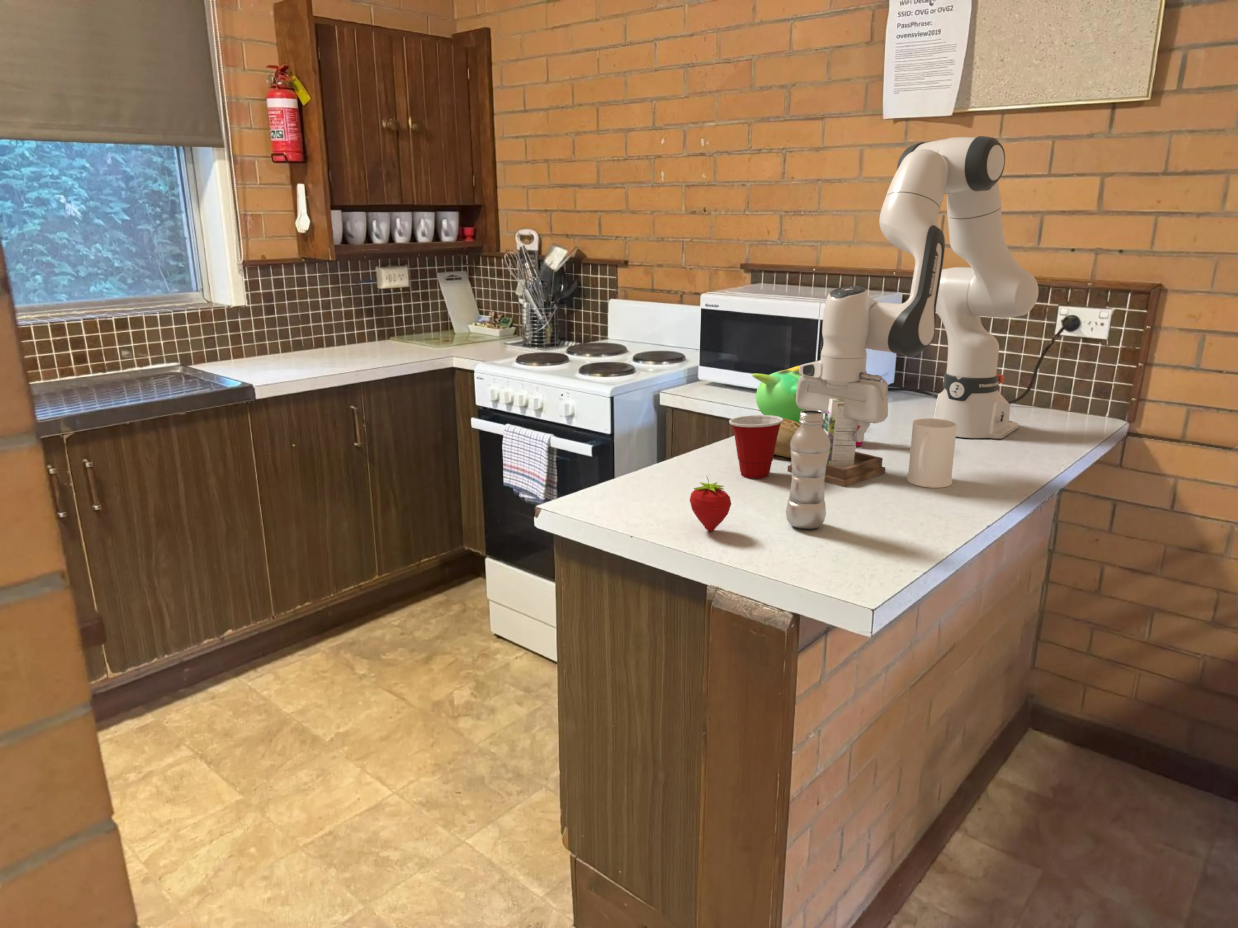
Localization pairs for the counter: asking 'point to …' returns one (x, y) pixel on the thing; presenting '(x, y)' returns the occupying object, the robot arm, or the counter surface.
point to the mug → (932, 453)
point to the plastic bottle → (808, 472)
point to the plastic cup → (755, 443)
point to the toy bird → (779, 394)
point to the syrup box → (840, 435)
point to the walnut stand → (853, 470)
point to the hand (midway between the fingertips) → (838, 436)
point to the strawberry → (710, 504)
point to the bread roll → (785, 437)
